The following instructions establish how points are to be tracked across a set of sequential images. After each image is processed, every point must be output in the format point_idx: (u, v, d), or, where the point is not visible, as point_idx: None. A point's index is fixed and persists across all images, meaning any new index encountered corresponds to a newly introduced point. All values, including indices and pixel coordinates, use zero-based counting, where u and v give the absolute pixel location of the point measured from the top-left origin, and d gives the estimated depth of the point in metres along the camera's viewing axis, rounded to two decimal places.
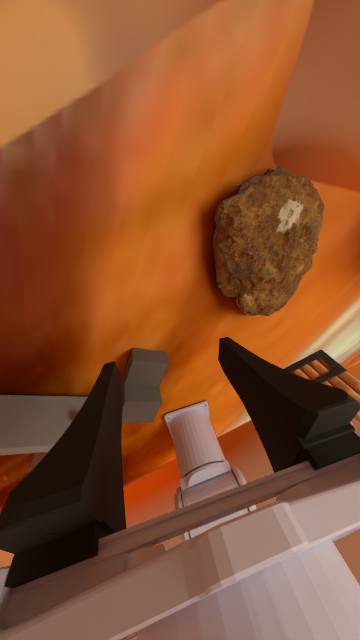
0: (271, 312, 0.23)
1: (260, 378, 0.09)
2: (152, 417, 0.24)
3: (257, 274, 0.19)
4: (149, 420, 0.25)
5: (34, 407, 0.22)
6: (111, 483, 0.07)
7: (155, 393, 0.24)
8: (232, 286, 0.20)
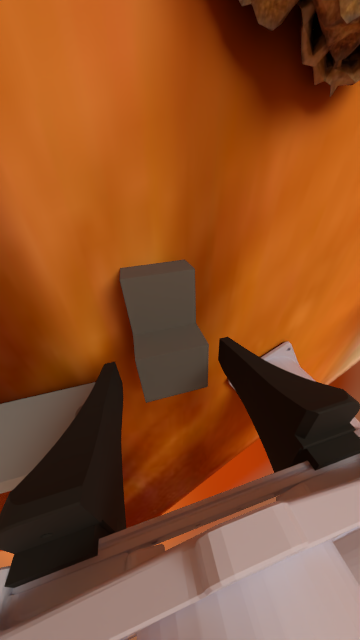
0: None
1: (260, 378, 0.09)
2: (203, 378, 0.13)
3: None
4: (200, 385, 0.14)
5: (22, 415, 0.14)
6: (111, 483, 0.07)
7: (192, 334, 0.13)
8: None
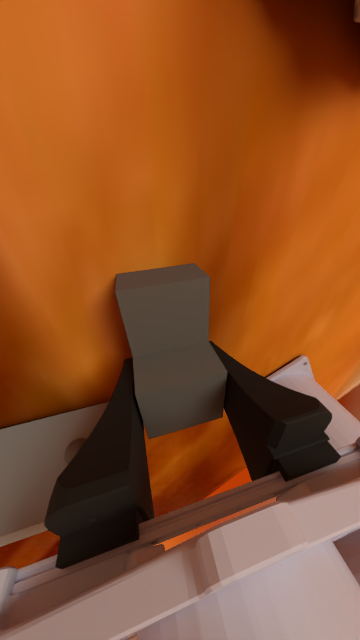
0: None
1: (236, 385, 0.09)
2: (218, 409, 0.11)
3: None
4: (214, 416, 0.11)
5: (4, 449, 0.12)
6: (143, 473, 0.08)
7: (205, 357, 0.10)
8: None
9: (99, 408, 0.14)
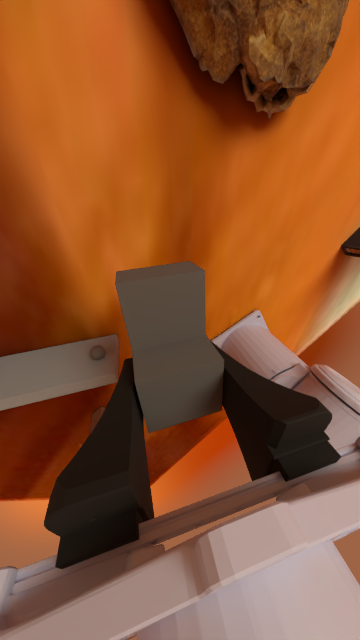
0: (316, 70, 0.13)
1: (236, 385, 0.09)
2: (217, 401, 0.11)
3: None
4: (214, 409, 0.11)
5: (49, 356, 0.19)
6: (142, 473, 0.08)
7: (202, 348, 0.11)
8: (222, 40, 0.11)
9: (109, 337, 0.21)
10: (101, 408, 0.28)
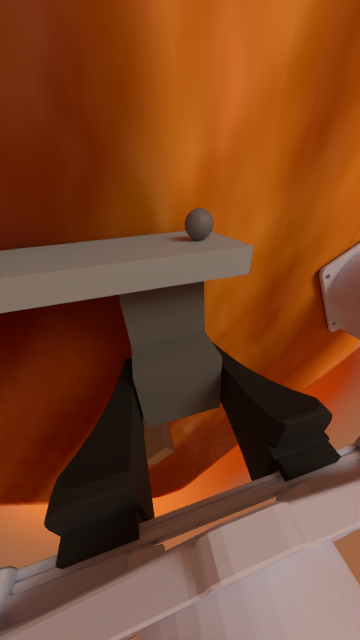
0: None
1: (236, 385, 0.09)
2: (215, 397, 0.11)
3: None
4: (212, 405, 0.11)
5: (98, 244, 0.10)
6: (143, 473, 0.08)
7: (201, 345, 0.11)
8: None
9: None
10: None
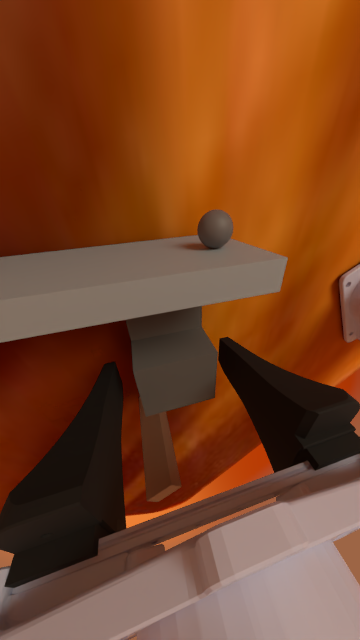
0: None
1: (260, 379, 0.09)
2: (210, 389, 0.12)
3: None
4: (207, 396, 0.12)
5: (93, 253, 0.09)
6: (111, 483, 0.07)
7: (198, 340, 0.11)
8: None
9: None
10: None
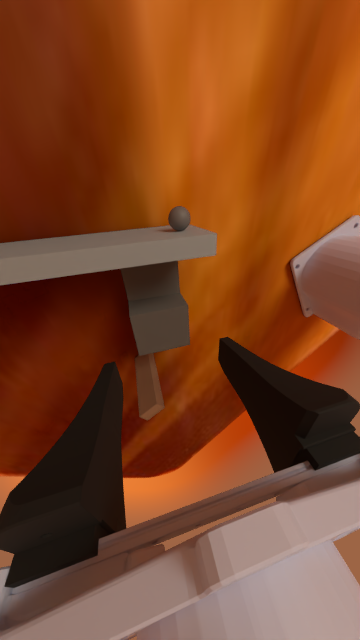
0: None
1: (260, 379, 0.09)
2: (186, 336, 0.16)
3: None
4: (184, 342, 0.17)
5: (102, 235, 0.13)
6: (111, 483, 0.07)
7: (175, 299, 0.16)
8: None
9: None
10: None
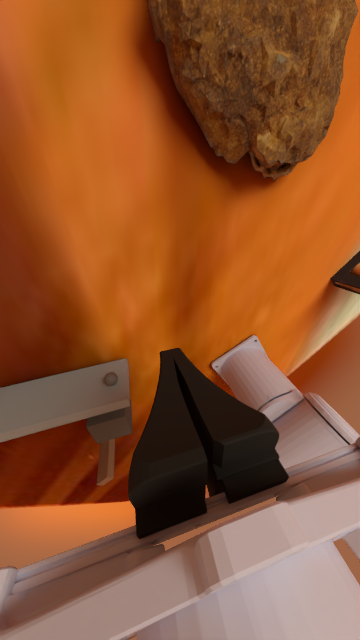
0: (313, 147, 0.15)
1: (191, 397, 0.09)
2: (128, 430, 0.24)
3: (261, 83, 0.12)
4: (127, 432, 0.25)
5: (67, 382, 0.21)
6: None
7: None
8: (234, 137, 0.14)
9: (119, 361, 0.23)
10: None
